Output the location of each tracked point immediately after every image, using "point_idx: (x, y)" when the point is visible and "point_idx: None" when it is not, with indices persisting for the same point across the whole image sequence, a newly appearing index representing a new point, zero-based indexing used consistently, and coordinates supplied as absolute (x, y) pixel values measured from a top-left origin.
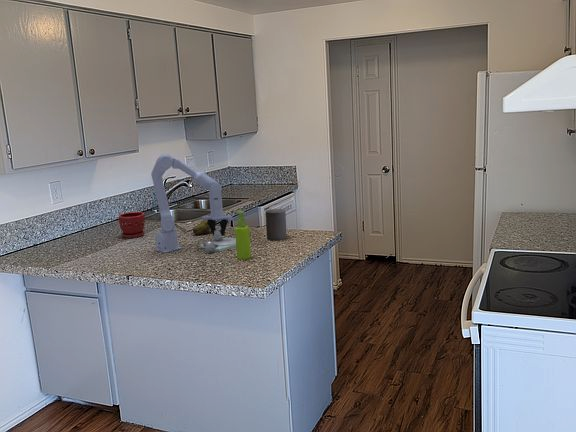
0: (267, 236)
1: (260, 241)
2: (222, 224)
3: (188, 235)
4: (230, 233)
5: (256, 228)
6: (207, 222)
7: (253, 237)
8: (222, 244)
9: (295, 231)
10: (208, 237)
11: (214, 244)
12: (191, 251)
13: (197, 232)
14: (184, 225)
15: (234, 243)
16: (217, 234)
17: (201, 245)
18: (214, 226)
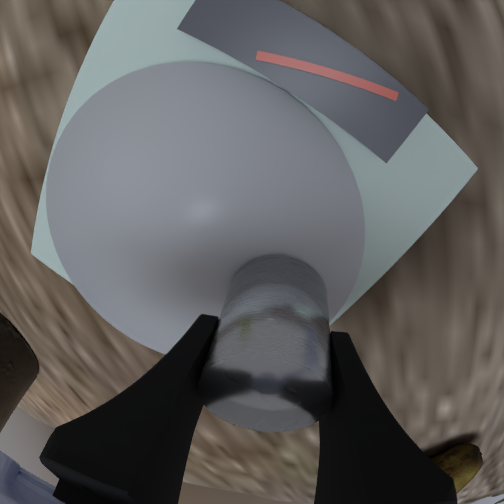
0: (5, 339)
1: (18, 300)
2: (98, 426)
3: (495, 433)
4: (287, 463)
5: (194, 482)
6: (448, 498)
7: (109, 388)
8: (147, 94)
9: (26, 406)
10: (405, 423)
11: (240, 44)
12: (490, 5)
13: (462, 451)
14: (473, 491)
15: (52, 160)
16: (262, 310)
17: (449, 137)
18: (326, 458)
